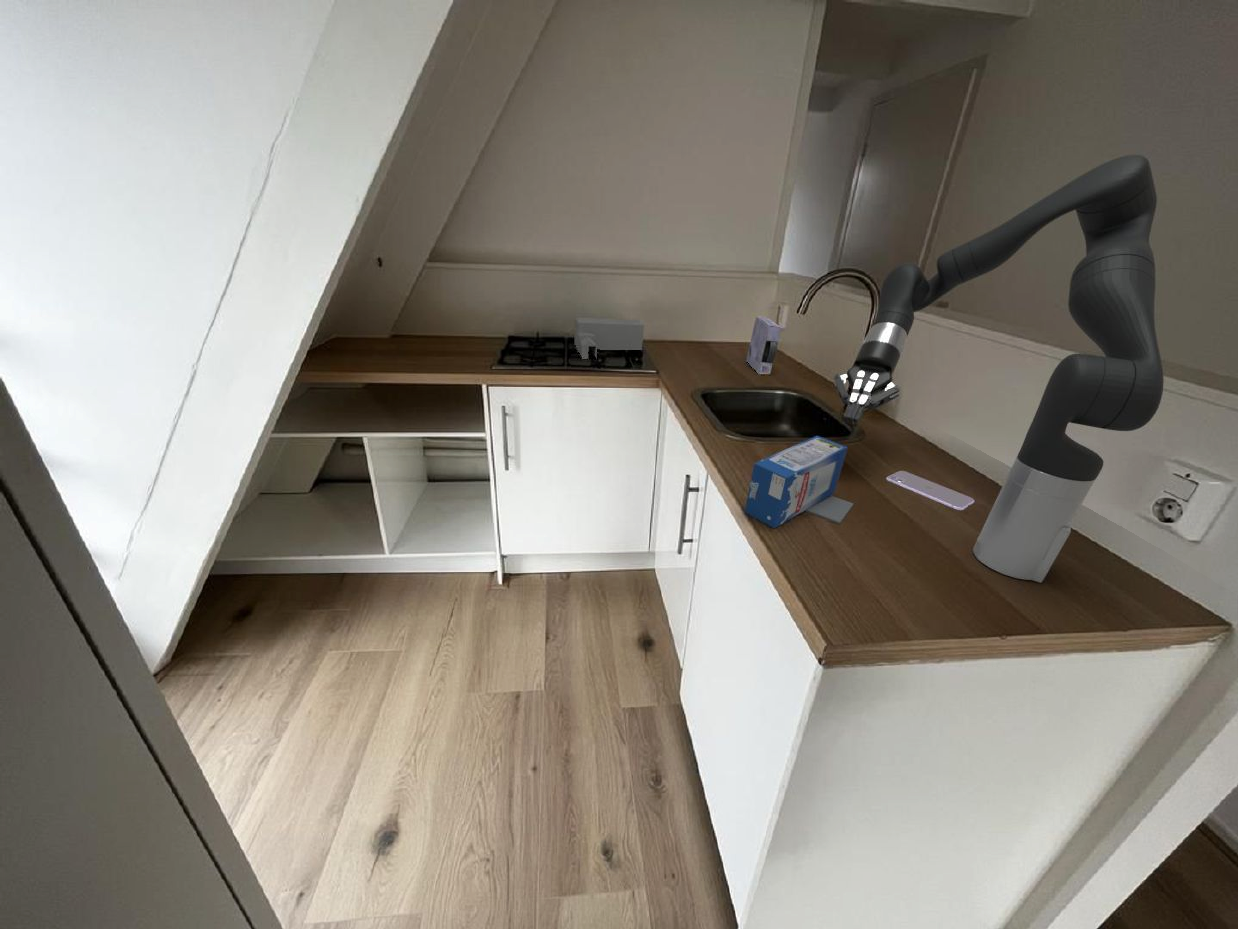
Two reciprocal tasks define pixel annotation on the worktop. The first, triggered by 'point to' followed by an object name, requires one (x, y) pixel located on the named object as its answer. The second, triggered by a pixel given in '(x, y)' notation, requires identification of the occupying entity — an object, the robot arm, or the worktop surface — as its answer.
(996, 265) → the robot arm
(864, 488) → the worktop surface
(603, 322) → the grey toy box truck
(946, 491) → the mobile phone
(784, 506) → the milk carton
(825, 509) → the mat
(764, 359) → the cake pan box
